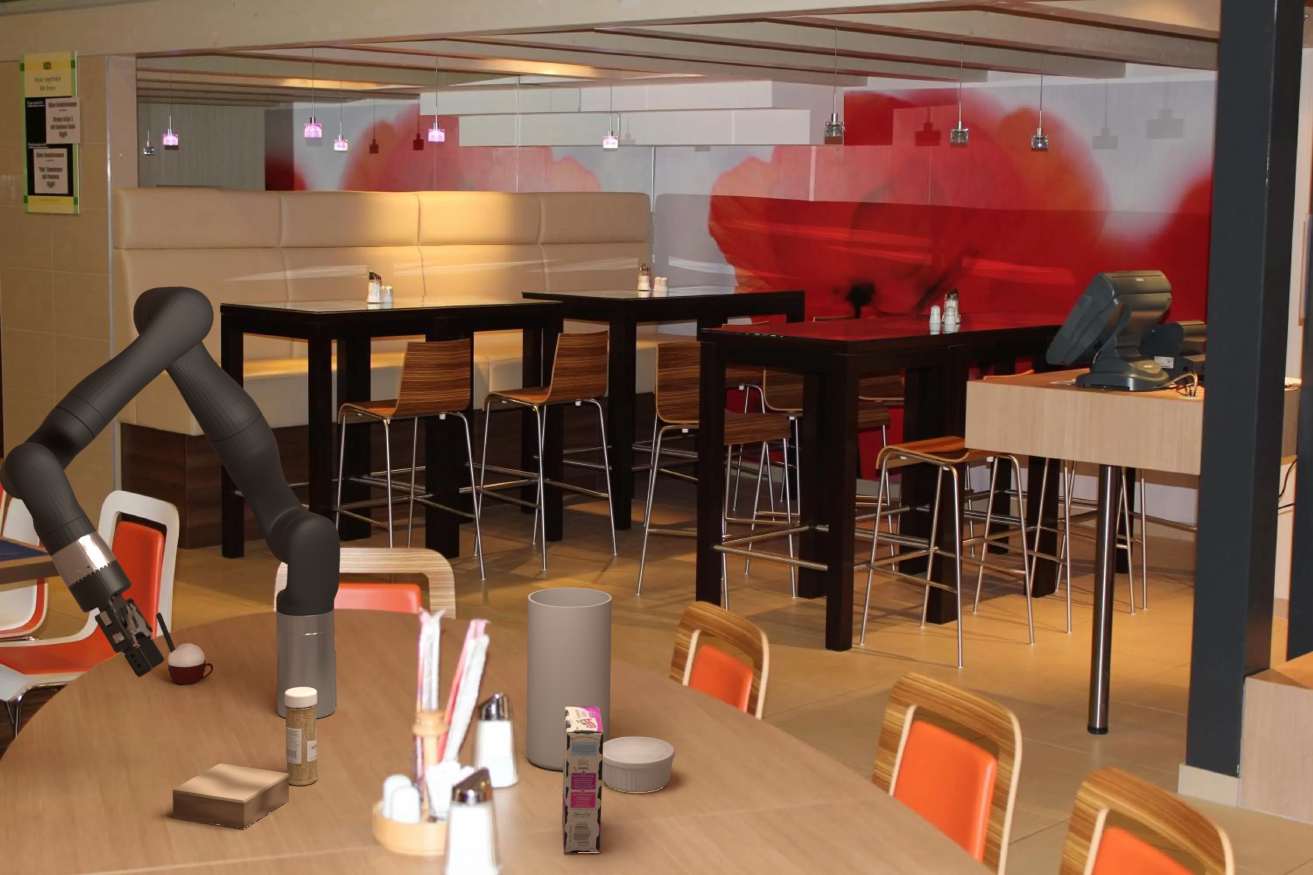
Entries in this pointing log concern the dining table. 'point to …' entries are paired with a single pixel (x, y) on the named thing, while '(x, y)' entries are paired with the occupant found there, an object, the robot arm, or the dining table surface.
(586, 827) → the candy bar box
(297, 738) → the spice jar
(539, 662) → the cylinder vase
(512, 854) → the dining table surface
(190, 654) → the cocoa
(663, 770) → the ramekin
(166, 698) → the dining table surface
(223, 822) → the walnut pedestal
